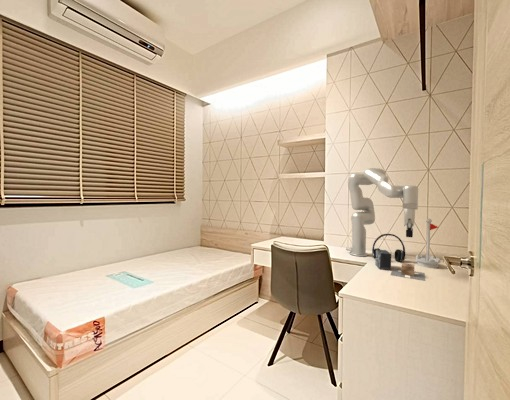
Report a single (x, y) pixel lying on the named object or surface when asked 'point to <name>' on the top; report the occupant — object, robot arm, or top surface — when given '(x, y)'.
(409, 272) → the walnut block
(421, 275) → the letter board
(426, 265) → the marker stand
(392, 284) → the top surface
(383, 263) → the small box
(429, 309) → the top surface
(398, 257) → the headphones
